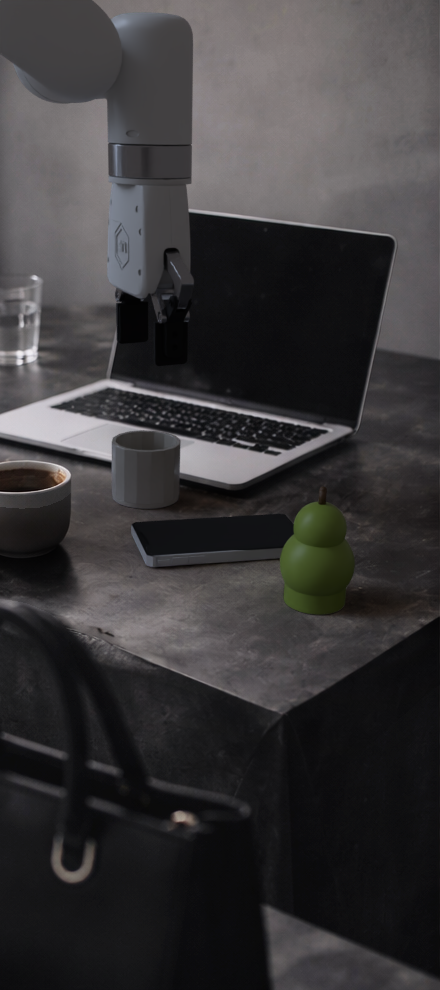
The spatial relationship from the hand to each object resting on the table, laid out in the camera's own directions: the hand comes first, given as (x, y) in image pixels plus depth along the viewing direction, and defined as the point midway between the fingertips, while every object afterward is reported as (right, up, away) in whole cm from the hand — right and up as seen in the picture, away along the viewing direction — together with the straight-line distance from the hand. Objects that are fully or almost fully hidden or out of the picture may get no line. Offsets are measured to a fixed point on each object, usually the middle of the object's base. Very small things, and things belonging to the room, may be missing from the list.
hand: (150, 352), depth 94 cm
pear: (+14, -22, -15) cm, 30 cm away
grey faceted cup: (-1, -14, +5) cm, 15 cm away
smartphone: (+7, -18, -5) cm, 20 cm away
